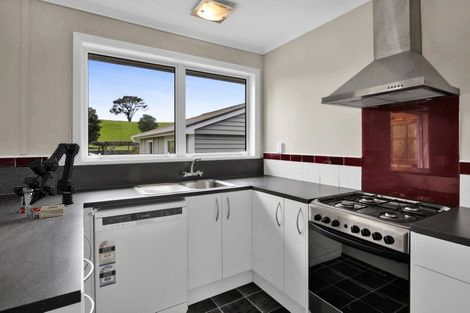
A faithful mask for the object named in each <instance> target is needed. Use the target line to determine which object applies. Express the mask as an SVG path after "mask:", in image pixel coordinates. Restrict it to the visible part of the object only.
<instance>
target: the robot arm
mask: <svg viewBox="0 0 470 313" xmlns="http://www.w3.org/2000/svg"><path fill="white" fill-rule="evenodd" d="M80 149H81V147H80V145H79V144H78V143H77V142H76V143H74V142H71V143H70V142H69V143H68V142H67V143H66V142H61V143H60V142H59V143H58V145H57V147H56V149H55V150H54V152H53V153H52V154H51V155H50V156H49V157H48V158H46V159H45V160H43V161H41V159H40V158H35V159H34V160H32V161H30V162H29V163H28V164H27V168H28V169H29V170H30V171H31V172H32V174H34V175H35V176H24V177H23V182H22V184H25V185H26V187H24V186H14V187H13V189H12V192H13V193H14V194H15V195H16V197H20V198H22V197H23V204H22V205H23V206H25V193H24V192H23V190H28V189H33V192H32V194H34V195H32V200H31V202H30V205H34V204H36V203H37V202H39V201H41V200H42V199H44V198H47V195H48V196H49V197H55V196H56V194H57V195H58V196H59V195H61V203H60V205H62V204H64V206H65V205H73V204H74V200H73V199H74V198H73V197H74V196H73V195H76V194H77V188H76V187H75V186H74V182H73V179H72V176H73V168H74V165H75V164H74V163H75V159H76V158H75V157H77V155H79V152H80ZM64 155H65V158H64V164H63V170H62V175H61V178H60V179H57V182H56V186H55V188H54V186H53V185H49V184H48V181H50V179H51V180H52V179H53V178H54V176H53V175H52V173H55V172H57V170H58V169H59V167H60V161H61V160H62V158H63V157H64Z"/></svg>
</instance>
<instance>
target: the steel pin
mask: <svg viewBox="0 0 470 313" xmlns="http://www.w3.org/2000/svg"><path fill="white" fill-rule="evenodd" d="M23 192H24V193H25V212H24V213H25V215H24V216H25V218H26V219H32V218H33V217H34V212H33V210H34V209H33V208H34V206H33V205H34V204H33V205H30V202H31V200H32V198H33V193H32V192H33V189H29V188H28V190H23Z"/></svg>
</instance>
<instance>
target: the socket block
mask: <svg viewBox="0 0 470 313" xmlns="http://www.w3.org/2000/svg"><path fill="white" fill-rule="evenodd" d="M40 208H41V209H40V211H38V213H39V215H38V216H39V217H38V218H39V219H45V218H50V217H52V218H53V217H58V216H59V217H60V216H64V215H65V205H64V204H62V205H61V204H53V205H46V206H45V205H44V206H41V207H40Z"/></svg>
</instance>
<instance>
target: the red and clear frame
mask: <svg viewBox="0 0 470 313" xmlns="http://www.w3.org/2000/svg"><path fill="white" fill-rule="evenodd" d="M22 204H23V197H21V202H20V207H19V210H18V212H17V213H18V214H20V213H25V206H23V205H22ZM40 209H41V207H33V213H34V211H35V212H39V210H40Z"/></svg>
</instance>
